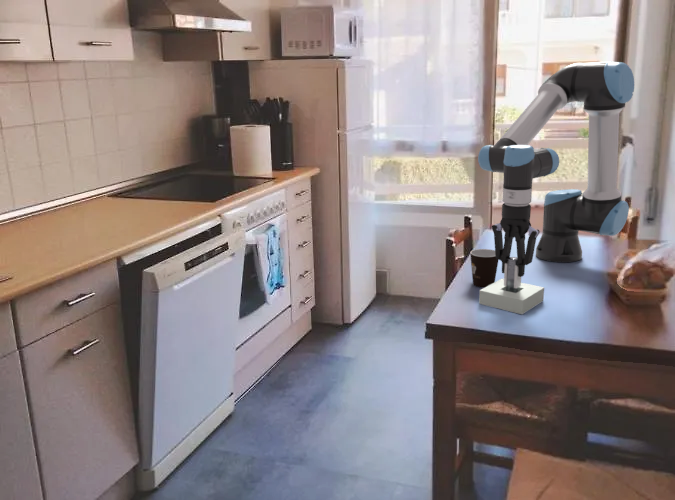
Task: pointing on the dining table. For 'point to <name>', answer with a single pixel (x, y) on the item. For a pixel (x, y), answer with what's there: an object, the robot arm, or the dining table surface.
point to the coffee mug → (483, 267)
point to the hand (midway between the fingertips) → (512, 285)
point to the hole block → (511, 297)
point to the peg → (511, 274)
